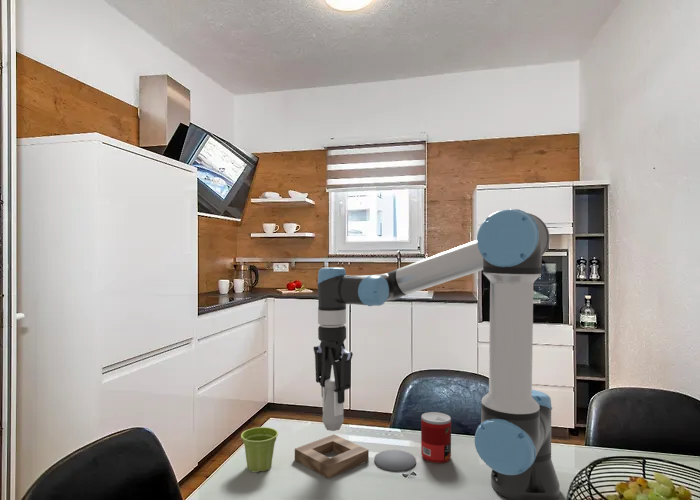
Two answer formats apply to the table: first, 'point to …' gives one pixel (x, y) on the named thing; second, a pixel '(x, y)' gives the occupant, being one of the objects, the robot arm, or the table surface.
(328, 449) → the collar block
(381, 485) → the table surface
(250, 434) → the plant pot
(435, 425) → the canned food
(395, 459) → the coaster
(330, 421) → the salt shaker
